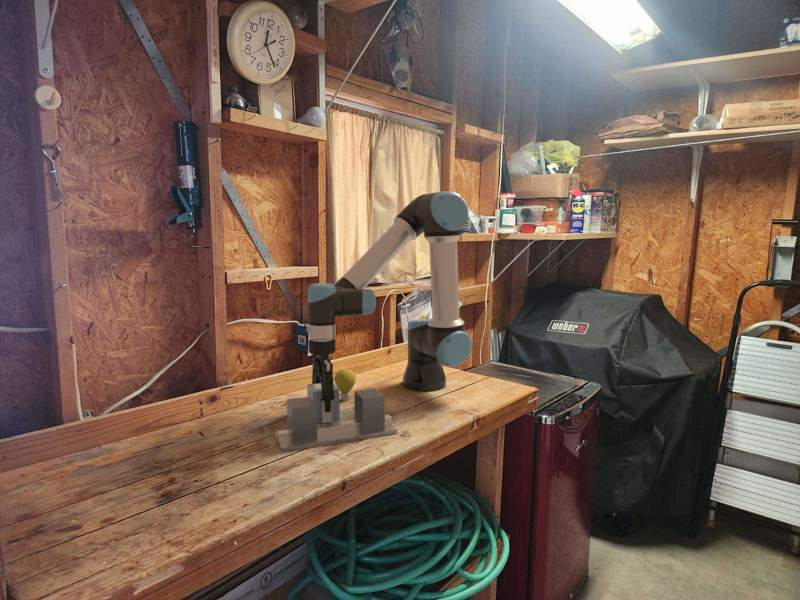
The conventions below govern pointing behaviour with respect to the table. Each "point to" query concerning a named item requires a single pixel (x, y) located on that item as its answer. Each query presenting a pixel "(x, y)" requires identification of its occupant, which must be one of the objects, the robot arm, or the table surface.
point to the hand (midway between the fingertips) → (322, 416)
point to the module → (316, 395)
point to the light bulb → (345, 382)
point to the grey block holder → (310, 434)
